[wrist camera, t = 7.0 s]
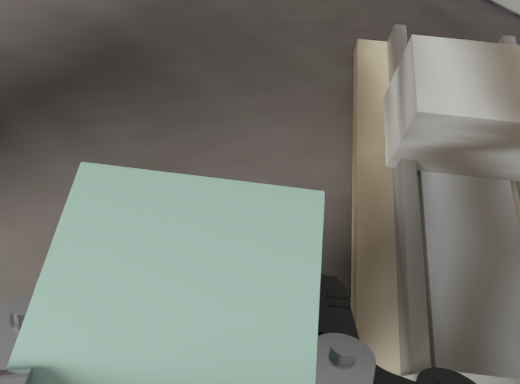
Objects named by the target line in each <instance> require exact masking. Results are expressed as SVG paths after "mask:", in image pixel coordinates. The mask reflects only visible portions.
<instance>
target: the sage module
mask: <svg viewBox="0 0 520 384" xmlns="http://www.w3.org/2000/svg"><path fill="white" fill-rule="evenodd" d="M324 201H325V191H319V190H310V189H302V188H294V187H286V186H277V185H269V184H261V183H253V182H244V181H236V180H228V179H220V178H211V177H203V176H195V175H187V174H178V173H170V172H162V171H154V170H145V169H137V168H129V167H121V166H112V165H104V164H96V163H88V162H81V163H80V166H79V168H78V171H77V174H76V177H75V179H74V182H73V185H72V188H71V191H70V193H69V196H68V199H67V202H66V204H65V207H64V210H63V213H62V215H61V218H60V221H59V224H58V226H57V229H56V232H55V235H54V238H53V240H52V243H51V246H50V249H49V251H48V254H47V257H46V260H45V262H44V265H43V268H42V271H41V273H40V276H39V279H38V282H37V285H36V287H35V290H34V293H33V296H32V298H31V301H30V304H29V307H28V309H27V312H26V315H25V318H24V320H23V323H22V326H21V329H20V332H19V334H18V337H17V340H16V343H15V345H14V348H13V351H12V354H11V356H10V359H9V362H8V365H7V368H6V370H8V369H20V368H31V367H33V374H32V382H31V384H315V381H316V361H317V341H318V321H319V301H320V281H321V261H322V241H323V221H324Z"/></svg>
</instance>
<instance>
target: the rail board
mask: <svg viewBox="0 0 520 384" xmlns="http://www.w3.org/2000/svg"><path fill="white" fill-rule="evenodd" d="M351 310H352V314H353V318H354V321H355V325H356V329H357V332H358V336H359V340H360V341H362V342H363V343H364V344H366V345H367V346H368V347H369V348H370V349H371V351H372V352H373V354H374V356H375V359H376V364H377V365H378V366H380V367H381V368H383V369H385V370H387V371H389V372H391V373H393V374H396V375H399V376H402V377H404V378H407V379H410V380H413V381H416V379H417V376H418V374H419V373H420V372H421V371H422V370H424V369H427V368H432V367H438V368H445V369H449V370H452V371H455V372H458V373H460V374H462V375H464V376H466V377H468V378H469V379H471V380H472V381H474V382H475V383H476V384H520V45H517V43H516V39H515V36H507V35H502V37H501V38H500V39H499V41H498V42H497V43H491V42H482V41H472V40H462V39H452V38H442V37H432V36H423V35H413V34H412V35H411V37H410V40H409V42H408V44H407V30H406V25H398V24H394V26H393V28H392V31H391V33H390V36H389V38H388V41H387V42H385V41H375V40H365V39H357V42H356V46H355V49H354V65H353V160H352V255H351Z"/></svg>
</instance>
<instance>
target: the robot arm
mask: <svg viewBox="0 0 520 384" xmlns="http://www.w3.org/2000/svg"><path fill="white" fill-rule="evenodd" d="M31 298H32V296H25V297H20V298H16V299H12V300H9V301H7V302H4V303H2V304H1V305H0V384H31V382H32V374H33V367H31V368H20V369H8V370H6V368H7V365H8V362H9V359H10V356H11V354H12V351H13V348H14V345H15V343H16V340H17V337H18V334H19V332H20V329H21V326H22V323H23V320H24V318H25V315H26V312H27V309H28V307H29V304H30V301H31ZM315 384H476V383H475V382H474V381H472V380H471V379H469V378H468V377H466V376H464V375H462V374H460V373H458V372H455V371H452V370H449V369H445V368H438V367H432V368H427V369H424V370H422V371H421V372H420V373H419V374H418V376H417V379H416V381H413V380H410V379H407V378H404V377H402V376H399V375H396V374H393V373H391V372H389V371H387V370H385V369H383V368H381V367H380V366H378V365H377V364H376V359H375V356H374V354H373V352H372V351H371V349H370V348H369V347H368V346H367V345H366V344H364V343H363V342H362V341H360V340H359V336H358V332H357V329H356V325H355V321H354V318H353V314H352V310H351V306H350V303H349V300H348V295H347V292H346V288H345V286H344V285H343V284H342V283H341V282H340V281H339V280H338V279H337V278H336V277H335V276H327V275H322V272H321V281H320V301H319V321H318V341H317V361H316V381H315Z"/></svg>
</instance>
